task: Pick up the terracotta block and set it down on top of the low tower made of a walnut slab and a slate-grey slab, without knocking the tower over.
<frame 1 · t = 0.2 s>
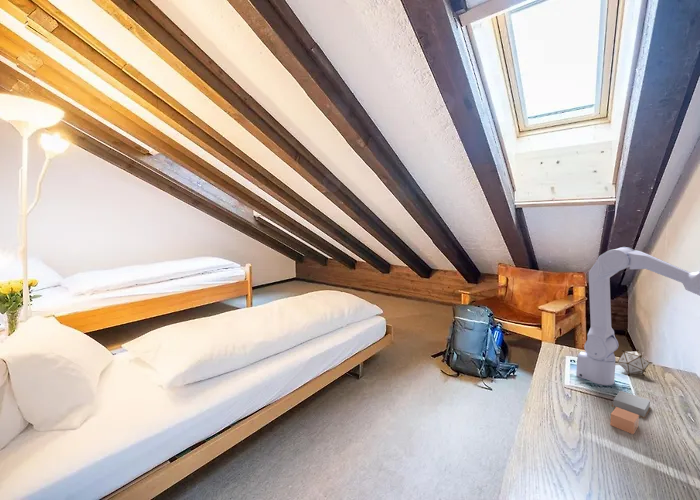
beige geometric polyhedron: (632, 374, 107), on the table
slate slab: (631, 406, 87), point 1 cm above the table, touching walnut slab
walnut slab: (630, 413, 87), on the table, touching slate slab
terracotta block: (623, 431, 80), on the table
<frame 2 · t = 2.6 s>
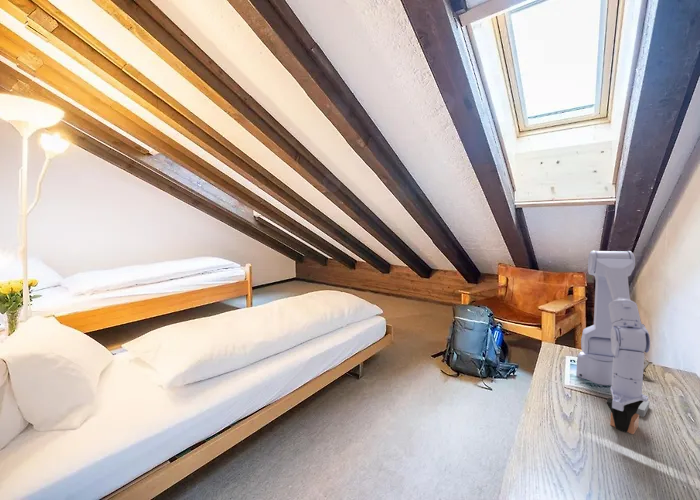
hand: (624, 425, 80), 1 cm above the table, tool pointing down, fingers closed on terracotta block, 4 cm apart
terracotta block: (623, 430, 80), on the table, touching gripper
everything else where it was.
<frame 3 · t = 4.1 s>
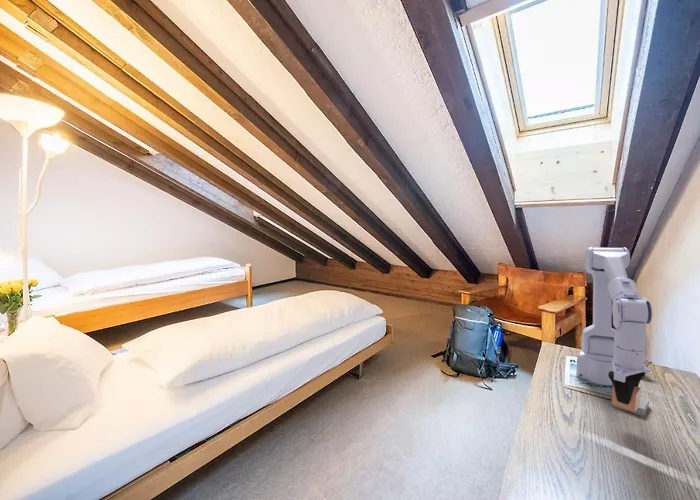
hand: (625, 398, 79), 8 cm above the table, tool pointing down, fingers closed on terracotta block, 4 cm apart
slate slab: (630, 406, 87), point 1 cm above the table
walnut slab: (630, 413, 87), on the table
terracotta block: (625, 404, 79), point 7 cm above the table, touching gripper
everything else where it was.
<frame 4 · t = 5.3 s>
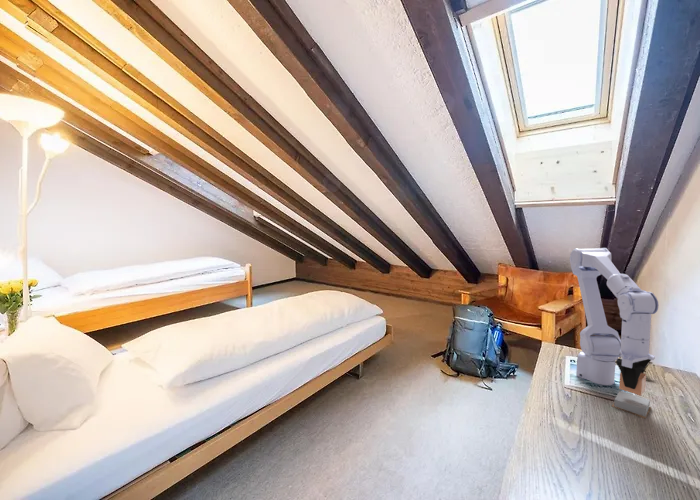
hand: (632, 384, 86), 8 cm above the table, tool pointing down, fingers closed on terracotta block, 4 cm apart
terracotta block: (632, 389, 86), point 6 cm above the table, touching gripper
everything else where it was.
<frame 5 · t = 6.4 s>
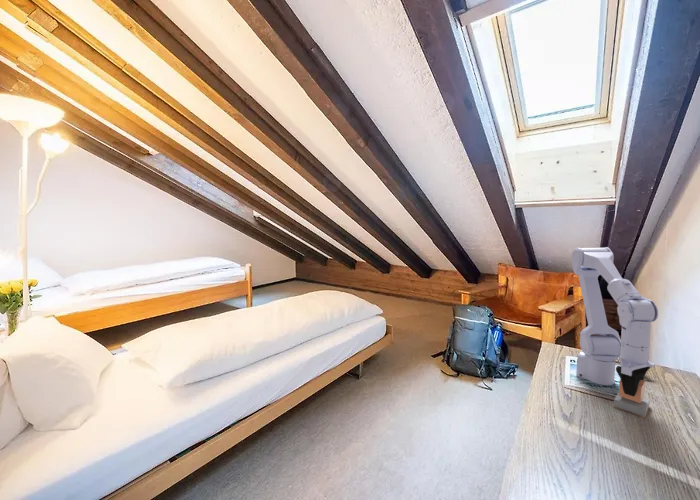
hand: (631, 391, 87), 6 cm above the table, tool pointing down, fingers closed on terracotta block, 4 cm apart
slate slab: (631, 406, 87), point 1 cm above the table, touching walnut slab
walnut slab: (630, 413, 87), on the table, touching slate slab
terracotta block: (631, 396, 87), point 4 cm above the table, touching gripper
everything else where it was.
when the fingers open (6 cm above the table, at t = 6.6 s): terracotta block drops 1 cm, resting on slate slab.
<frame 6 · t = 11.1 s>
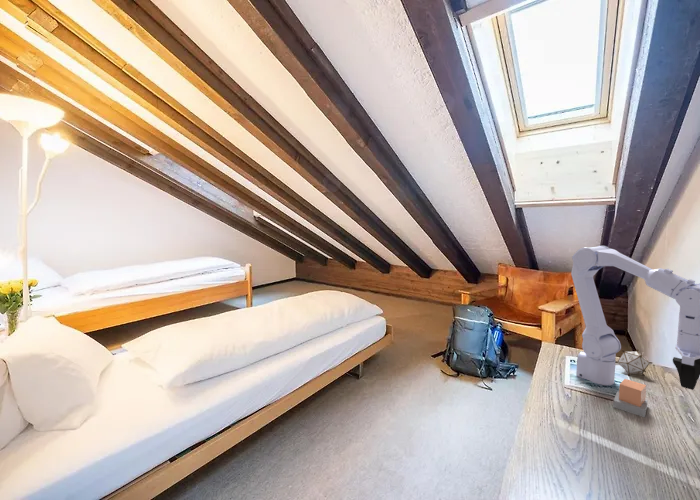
hand: (689, 382, 82), 10 cm above the table, tool pointing down, fingers open, 7 cm apart
slate slab: (630, 406, 87), point 1 cm above the table, touching terracotta block, walnut slab
terracotta block: (632, 400, 87), point 3 cm above the table, touching slate slab
everything else where it was.
at the end: terracotta block 0.4 cm off-centre on the slate slab, point 2.0 cm above the slate slab's base; terracotta block tilted 0°; slate slab moved 0.8 cm from its start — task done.
